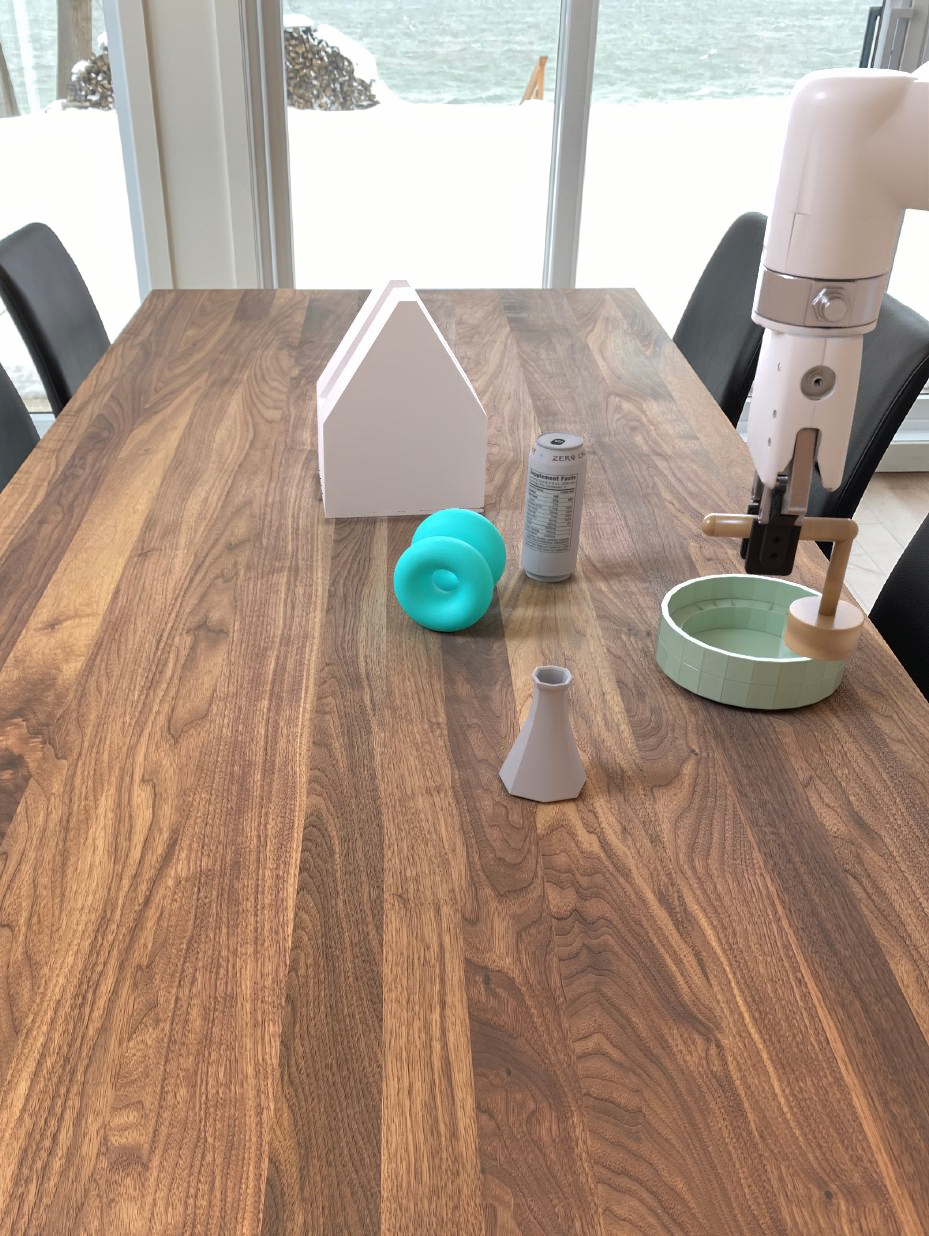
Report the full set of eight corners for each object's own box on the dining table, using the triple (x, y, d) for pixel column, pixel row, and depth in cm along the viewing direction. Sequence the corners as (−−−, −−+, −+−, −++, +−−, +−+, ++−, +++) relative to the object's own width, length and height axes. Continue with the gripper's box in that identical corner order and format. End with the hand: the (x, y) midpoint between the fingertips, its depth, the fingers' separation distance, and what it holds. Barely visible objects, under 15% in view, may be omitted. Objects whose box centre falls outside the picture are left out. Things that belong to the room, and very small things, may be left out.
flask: (584, 756, 101) (596, 654, 95) (588, 807, 95) (601, 702, 89) (498, 751, 101) (505, 650, 96) (498, 802, 95) (505, 697, 90)
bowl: (822, 628, 119) (834, 579, 116) (857, 721, 105) (871, 667, 102) (649, 618, 121) (656, 569, 118) (660, 707, 107) (668, 655, 104)
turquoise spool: (505, 597, 125) (511, 509, 119) (487, 642, 117) (493, 550, 111) (413, 586, 127) (415, 499, 121) (389, 630, 119) (390, 538, 113)
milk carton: (325, 518, 142) (319, 303, 128) (319, 471, 155) (313, 270, 141) (483, 512, 143) (495, 298, 129) (464, 465, 156) (472, 266, 142)
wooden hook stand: (848, 628, 89) (879, 506, 83) (863, 663, 85) (896, 536, 79) (680, 620, 90) (699, 499, 85) (687, 654, 86) (707, 529, 80)
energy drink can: (583, 567, 131) (598, 435, 122) (562, 589, 126) (575, 453, 118) (533, 556, 133) (544, 426, 125) (511, 576, 129) (520, 443, 120)
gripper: (911, 333, 67) (841, 621, 77) (853, 269, 80) (799, 523, 90) (775, 330, 68) (723, 615, 78) (739, 267, 81) (699, 519, 91)
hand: (764, 564), depth 84 cm, fingers closed on wooden hook stand, 1 cm apart
